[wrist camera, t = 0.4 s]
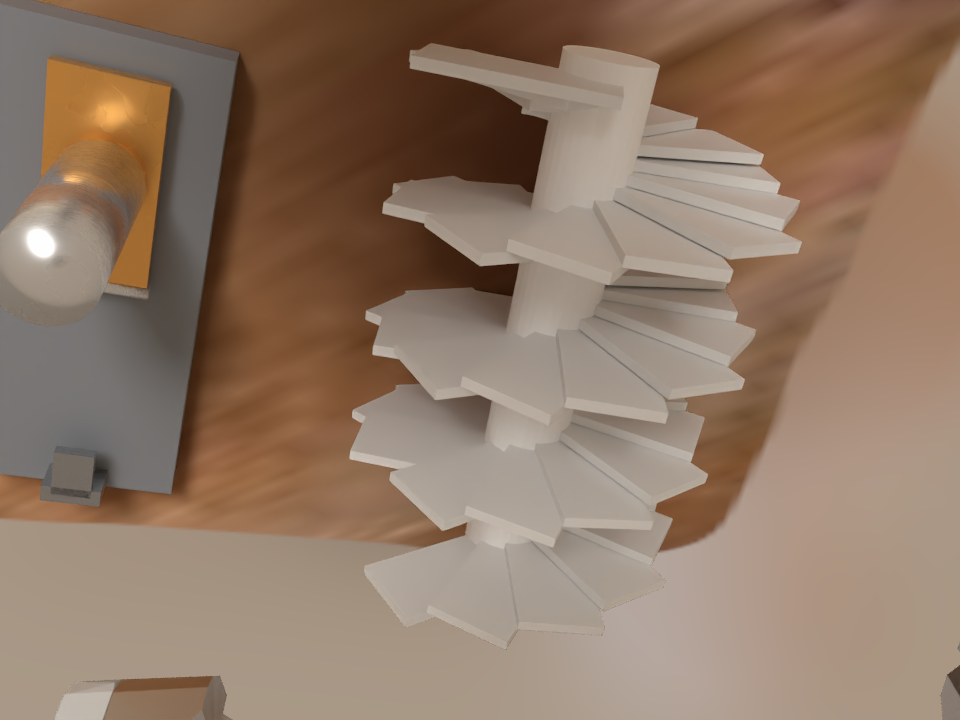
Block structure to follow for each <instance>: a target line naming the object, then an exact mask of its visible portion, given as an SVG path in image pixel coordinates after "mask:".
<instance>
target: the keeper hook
mask: <svg viewBox="0 0 960 720" xmlns="http://www.w3.org/2000/svg"><path fill="white" fill-rule="evenodd" d="M96 453H97V451H94V450H86V449H78V448H70V447H62V446H56V448H55V450H54V453H53V463H50V465H49V467H48V470H47V472H46V475H45V477H44V479H43V482H42V484H41V492H40V500H43V501H52V502H61V503H70V504H79V505H87V506H96V507H99V506H100V503H101V500H102V497H103V494H104V491H105V488H106V484H107V476H108V470H105V469H97V468H95V463H96Z"/></svg>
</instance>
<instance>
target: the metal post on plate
mask: <svg viewBox="0 0 960 720" xmlns="http://www.w3.org/2000/svg"><path fill="white" fill-rule="evenodd" d="M172 89H173V83H171V82H166V81H162V80H158V79H154V78H150V77H145V76H141V75H137V74H133V73H128V72H124V71H120V70H116V69H111V68H107V67H103V66H99V65H94V64H90V63H86V62H82V61H78V60H73V59H69V58H65V57H61V56H56V55H51V56H50V57H49V58H48V59H47V76H46V95H45V113H44V132H43V151H42V169H41V180H40V181H39V183H38V184H37V185H36V187H35V188H34V189H33V191H32V192H31V193H30V195H29V196H28V197H27V198H26V200H25V201H24V202H23V204H22V205H21V206H20V208H19V209H18V210H17V212H16V213H15V214H14V216H13V217H12V218H11V220H10V221H9V222H8V224H7V225H6V226H5V227H4V229H3V230H2V231H1V233H0V305H1V306H2V307H3V308H4V309H5V310H6V311H8V312H9V313H11V314H12V315H14V316H16V317H17V318H19V319H21V320H24V321H26V322H29V323H32V324H36V325H41V326H64V325H68V324H72V323H75V322H77V321H79V320H81V319H83V318H84V317H86V316H87V315H88V314H90V313H91V312H92V311H93V309H94V308H95V307H96V306H97V304H98V302H99V300H100V298H101V296H102V293H108V294H113V295H119V296H125V297H131V298H136V299H142V300H149V296H150V290H151V285H150V284H149V280H150V272H151V264H152V255H153V247H154V239H155V230H156V222H157V214H158V205H159V197H160V189H161V180H162V172H163V164H164V155H165V147H166V139H167V130H168V122H169V114H170V105H171V97H172Z"/></svg>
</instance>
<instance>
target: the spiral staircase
mask: <svg viewBox="0 0 960 720" xmlns="http://www.w3.org/2000/svg"><path fill="white" fill-rule="evenodd" d="M409 62H410V69H415V70H420V71H425V72H430V73H435V74H440V75H445V76H450V77H455V78H460V79H465V80H468V81H472V82H475V83H478V84H481V85H484V86H487V87H491V88H493V89H494V90H496V91H498V92H499V93H501V94H503V95H504V96H506V97H508V98H509V99H511V100H512V101H514V102H516V103H517V104H519V105H521V106H522V111H521V113H522V114H527V115H532V116H536V117H539V118H542V119H545V120H548V124H547V129H546V134H545V139H544V144H543V149H542V154H541V159H540V164H539V169H538V174H537V179H536V184H535V189H534V193H531V192H527V191H526V190H525V189H524V188H523V187H522V186H521V185H514V184H501V183H488V182H475V181H465V180H463V179H460V178H458V177H455V176H447V177H440V178H432V179H424V180H416V181H415V180H410V181H408V182H401V183H393V191H392V194H393V195H392V196H391V197H389V198H388V199H387V200H386V201H385V202H384V203H383V211H382V214H387V215H391V216H395V217H399V218H404V219H408V220H412V221H416V222H421V223H425V224H424V227H426V228H427V229H428V230H430V231H431V232H433V233H434V234H435V235H437V236H438V237H440V238H441V239H442V240H444V241H445V242H447V243H448V244H449V245H451V246H452V247H454V248H455V249H456V250H458V251H459V252H461V253H462V254H463V255H465V256H466V257H468V258H469V259H470V260H472V261H473V262H475V263H476V264H478V265H479V266H489V265H501V264H514V263H519V268H518V273H517V278H516V283H515V288H514V293H513V297H512V296H506V295H500V294H494V293H488V292H482V291H476V290H474V289H473V288H472V287H470V288H450V289H430V290H409V291H405V294H404V295H402V296H399V297H397V298H394V299H392V300H390V301H387V302H385V303H383V304H380V305H378V306H376V307H373V308H371V309H368V310H366V317H365V320H368V321H370V322H372V323H374V324H377V325H379V329H378V332H377V335H376V338H375V342H374V345H373V353H372V355H377V356H383V357H389V358H395V359H399V360H400V361H401V362H402V363H403V364H404V365H405V366H406V368H407V369H408V370H409V371H410V372H411V373H412V375H413V376H414V377H415V378H416V379H417V380H418V381H419V383H420V384H405V385H396V388H395V390H394V391H392V392H390V393H388V394H386V395H384V396H381V397H379V398H377V399H375V400H373V401H370V402H368V403H366V404H364V405H362V406H360V407H357V408H355V409H353V413H352V418H354V419H355V420H357V421H359V422H361V423H362V426H361V428H360V430H359V433H358V435H357V437H356V439H355V442H354V444H353V446H352V448H351V450H350V458H349V459H351V460H356V461H361V462H366V463H371V464H376V465H380V466H385V467H390V468H395V469H399V470H395V471H392V472H391V473H390V480H389V481H390V482H391V483H392V484H393V485H394V486H396V487H397V488H398V489H399V490H400V491H401V492H402V493H403V494H404V495H405V496H406V497H407V498H408V499H409V500H410V501H411V502H412V503H414V504H415V505H416V506H417V507H418V508H419V509H420V510H421V511H422V512H423V513H424V514H425V515H426V516H427V517H428V518H429V519H430V520H431V521H433V522H434V523H435V524H436V525H437V526H438V527H439V528H440V529H441V530H442V531H445V530H448V529H450V528H453V527H456V526H458V525H461V524H464V523H467V527H466V532H465V536H461V537H458V538H455V539H451V540H448V541H445V542H441V543H438V544H435V545H431V546H428V547H425V548H421V549H418V550H415V551H411V552H408V553H405V554H402V555H398V556H395V557H391V558H388V559H385V560H381V561H378V562H375V563H371V564H368V565H365V568H364V574H365V575H366V577H367V578H368V579H369V581H370V582H371V583H372V585H373V586H374V587H375V588H376V590H377V591H378V592H379V594H380V595H381V596H382V597H383V599H384V600H385V602H386V603H387V604H388V605H389V607H390V608H391V609H392V611H393V612H394V613H395V615H396V616H397V617H398V619H399V620H400V621H401V622H402V624H403V625H404V626H405V628H407V627H409V626H412V625H415V624H418V623H421V622H423V621H426V620H429V619H432V618H434V617H437V618H439V619H441V620H443V621H445V622H447V623H449V624H451V625H454V626H456V627H458V628H460V629H462V630H464V631H466V632H468V633H470V634H472V635H474V636H477V637H479V638H481V639H483V640H485V641H487V642H489V643H491V644H493V645H496V646H498V647H500V648H502V649H504V650H506V649H507V647H508V645H509V644H510V642H511V641H512V639H513V638H514V636H515V635H516V633H517V631H518V630H529V631H544V632H558V633H574V634H588V635H603V631H604V628H605V627H604V624H603V620H602V617H601V613H600V609H599V607H600V608H601V609H602V610H603V611H606V610H608V609H611V608H613V607H616V606H618V605H621V604H623V603H626V602H628V601H631V600H633V599H636V598H638V597H641V596H643V595H646V594H648V593H651V592H653V591H656V590H658V589H660V588H663V587H664V584H665V581H666V580H665V579H664V578H663V577H662V576H661V575H660V574H659V573H657V572H656V571H655V570H654V569H653V568H652V567H651V565H652V563H653V561H654V559H655V557H656V555H657V553H658V551H659V549H660V547H661V545H662V543H663V541H664V539H665V537H666V534H667V532H668V530H669V528H670V526H671V523H672V520H673V519H672V518H670V517H667V516H665V515H662V514H660V513H657V512H655V509H656V506H657V503H659V502H661V501H663V500H666V499H668V498H670V497H673V496H675V495H678V494H680V493H682V492H685V491H687V490H689V489H692V488H694V487H697V486H699V485H701V484H704V483H705V482H706V479H707V476H708V474H707V473H705V472H704V471H702V470H701V469H699V468H698V467H696V466H695V465H693V464H692V463H690V462H691V460H692V457H693V454H694V451H695V448H696V445H697V441H698V438H699V435H700V432H701V429H702V425H703V422H704V419H705V417H702V416H699V415H696V414H693V413H690V412H686V408H687V404H688V402H687V401H686V399H685V397H692V396H699V395H706V394H713V393H720V392H727V391H734V390H741V389H742V387H743V384H744V381H745V379H744V378H742V377H741V376H739V375H738V374H737V373H735V372H734V371H732V370H731V369H729V368H728V366H729V365H730V364H731V363H732V362H733V361H734V360H735V359H736V358H737V357H738V355H739V354H740V353H741V352H742V351H743V350H744V349H745V348H746V347H747V346H748V345H749V344H750V342H751V341H752V340H753V339H754V336H755V333H756V329H753V328H750V327H747V326H744V325H742V324H739V323H736V322H735V321H736V318H737V315H738V311H737V309H736V308H735V306H734V304H733V303H732V301H731V299H730V298H729V296H728V294H727V292H726V291H725V288H726V285H727V283H730V280H731V277H732V274H733V269H732V268H731V267H730V266H729V264H728V263H727V262H726V261H725V260H724V258H723V257H722V256H724V257H725V258H727V259H729V260H730V259H741V258H752V257H762V256H773V255H784V254H795V253H798V252H799V249H800V246H801V244H802V241H800V240H797V239H795V238H793V237H791V236H789V235H787V234H784V233H782V232H780V231H782V230H783V229H784V227H785V226H786V225H787V223H788V222H789V221H790V219H791V218H792V217H793V216H794V214H795V213H796V212H797V209H798V206H799V203H800V200H796V199H793V198H789V197H786V196H782V195H778V194H777V192H778V189H779V186H780V182H779V181H777V180H776V179H775V178H774V177H772V176H771V175H770V174H769V173H767V172H766V171H765V170H764V169H763V168H761V167H760V166H759V165H761V162H762V159H763V156H764V154H762V153H760V152H758V151H756V150H754V149H752V148H749V147H747V146H745V145H743V144H741V143H739V142H737V141H735V140H732V139H730V138H728V137H726V136H724V135H722V134H720V133H717V132H715V131H713V130H704V129H692V128H696V124H697V120H698V118H696V117H693V116H690V115H686V114H683V113H679V112H676V111H673V110H669V109H666V108H662V107H659V106H656V105H652V104H650V103H651V99H652V95H653V91H654V87H655V83H656V79H657V75H658V71H659V67H660V66H659V64H657V63H655V62H653V61H650V60H647V59H644V58H641V57H638V56H634V55H630V54H626V53H622V52H617V51H612V50H607V49H601V48H595V47H588V46H577V45H567V46H563V50H562V55H561V60H560V65H559V68H555V67H550V66H545V65H540V64H535V63H530V62H525V61H520V60H515V59H510V58H504V57H499V56H494V55H489V54H484V53H480V52H477V51H473V50H470V49H459V48H454V47H449V46H444V45H439V44H434V43H430V44H428V45H427V46H425V47H424V48H422V49H420V50H410V57H409ZM778 230H779V231H778ZM721 255H722V256H721Z"/></svg>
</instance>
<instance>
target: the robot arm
mask: <svg viewBox="0 0 960 720" xmlns="http://www.w3.org/2000/svg"><path fill="white" fill-rule="evenodd" d="M958 650H959V651H960V644H959V646H958ZM226 696H227V695H226V692H225V689H224V686H223V683H222V680H221V677H220V676H203V677H176V678H151V679H126V680H125V679H122V680H104V681H86V682H74V683H73V684H72V686H71V687H70V688H69V690H68V691H67V692H66V693H65V695H64V696H63V697H62V699H61V702H60V704H59V707H58V709H57V712H56V714H55V717H54V720H232V719H230V718H229V717H227V716H226V715H224V714H223V711H224V706H225V701H226ZM941 705H942V717H943V720H960V665H959V666H958V667H957V668H955V669H954V670H953V671H951V672H950V673H949V674H947V677H946V680H945V683H944V686H943V689H942V693H941Z"/></svg>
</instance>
